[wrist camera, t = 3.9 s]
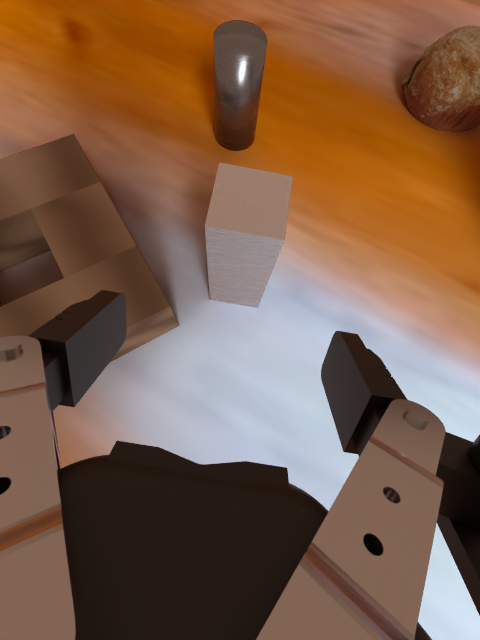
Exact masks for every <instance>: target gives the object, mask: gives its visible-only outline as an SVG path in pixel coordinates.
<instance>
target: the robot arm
mask: <svg viewBox="0 0 480 640" xmlns="http://www.w3.org/2000/svg"><path fill="white" fill-rule="evenodd" d="M126 332H127V325H126V297H125V295H124V294H123V293H119V292H113V291H107V290H101V291H99V292H98V293H97V294H95V295H94V296H93V297H92V298H90V299H89V300H84V301H81V302H78V303H75V304H72V305H71V306H69V307H68V308H66V309H65V310H63V311H62V313H59V314H58V315H56V316H55V317H54V319H51V320H49V321H48V322H47V323H45V324H44V325H42V326H41V327H40V328H38V329H37V330H35V331H34V332H33V333H31V334H30V335H28V336H7V337H2V338H0V640H432V639H431V638H430V636H429V635H428V634H427V633H426V631H425V630H424V629H423V628H422V626H421V625H420V624H419V623H418V616H419V611H420V606H421V601H422V596H423V590H424V585H425V580H426V575H427V570H428V564H429V559H430V554H431V549H432V544H433V538H434V533H435V528H436V523H437V524H438V526H439V528H440V530H441V532H442V535H443V537H444V539H445V541H446V543H447V545H448V548H449V550H450V552H451V554H452V556H453V559H454V561H455V563H456V565H457V567H458V569H459V572H460V574H461V576H462V578H463V580H464V582H465V585H466V587H467V589H468V591H469V593H470V596H471V598H472V600H473V602H474V604H475V606H476V609H477V611H478V613H479V615H480V435H479V436H478V437H477V439H476V440H475V441H474V443H473V442H471V441H468V440H466V439H463V438H460V437H458V436H455V435H453V434H450V433H447V432H445V427H444V425H443V423H442V422H441V421H440V419H439V418H438V417H437V416H436V415H435V414H433V413H432V412H431V411H430V410H428V409H427V408H425V407H423V406H422V405H419V404H417V403H415V402H412V401H409V400H407V398H406V397H405V395H404V394H403V392H402V391H401V389H400V388H399V386H398V385H397V383H396V382H395V380H394V379H393V377H391V374H390V373H389V371H388V369H386V366H385V365H384V363H383V362H382V360H381V359H380V358H379V357H378V356H377V355H376V354H375V353H373V352H372V351H371V350H370V349H367V348H366V347H365V345H364V344H363V342H362V340H361V339H360V337H359V336H358V335H357V334H353V333H347V332H342V331H336V332H335V333H334V335H333V337H332V340H331V343H330V346H329V348H328V351H327V354H326V357H325V359H324V362H323V365H322V370H321V379H322V383H323V386H324V389H325V393H326V396H327V399H328V402H329V406H330V409H331V412H332V416H333V419H334V422H335V425H336V429H337V432H338V435H339V438H340V442H341V445H342V448H343V452H348V453H354V454H358V455H359V459H358V461H357V462H356V464H355V466H354V468H353V469H352V471H351V473H350V475H349V477H348V478H347V480H346V482H345V484H344V485H343V487H342V489H341V491H340V493H339V494H338V496H337V498H336V500H335V501H334V503H333V505H332V507H331V508H330V510H329V511H328V510H327V509H326V508H325V507H324V506H323V505H322V504H320V503H319V502H318V501H317V500H316V499H315V498H313V497H312V496H311V495H309V494H308V493H306V492H305V491H303V490H301V489H300V488H298V487H296V486H294V485H292V484H290V483H289V482H288V471H287V468H284V467H278V466H272V465H266V464H259V463H253V462H247V461H244V462H232V463H220V464H207V465H201V464H197V463H194V462H192V461H190V460H187V459H185V458H183V457H180V456H178V455H176V454H173V453H171V452H169V451H166V450H164V449H161V448H159V447H153V446H147V445H140V444H134V443H128V442H122V441H116V443H115V445H114V447H113V449H112V451H111V453H110V455H102V456H97V457H92V458H88V459H85V460H81V461H78V462H76V463H73V464H70V465H68V466H66V467H64V468H62V466H61V460H60V453H59V447H58V440H57V433H56V427H55V420H54V414H53V410H54V409H55V408H56V407H57V406H58V405H64V406H70V407H75V406H76V404H77V403H78V402H79V400H80V399H81V398H82V397H83V395H84V394H85V393H86V391H87V390H88V389H89V388H90V386H91V385H92V384H93V383H94V381H95V380H96V379H97V377H98V376H99V375H100V374H101V372H102V371H103V370H104V368H105V367H106V366H107V365H108V363H109V362H110V361H111V359H112V358H113V357H114V356H115V354H116V353H117V352H118V351H119V349H120V348H121V347H122V345H123V343H124V341H125V338H126Z"/></svg>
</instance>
